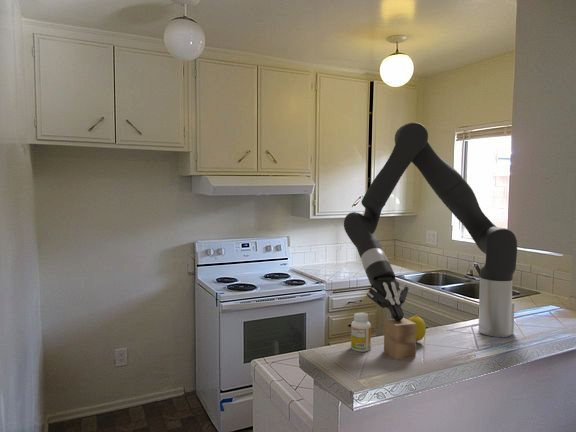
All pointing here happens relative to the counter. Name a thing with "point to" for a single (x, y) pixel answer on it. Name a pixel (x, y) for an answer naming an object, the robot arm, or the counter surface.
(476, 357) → the counter surface
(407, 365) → the counter surface
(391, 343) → the brown wooden block
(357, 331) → the supplement bottle
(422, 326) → the lemon
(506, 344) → the counter surface
